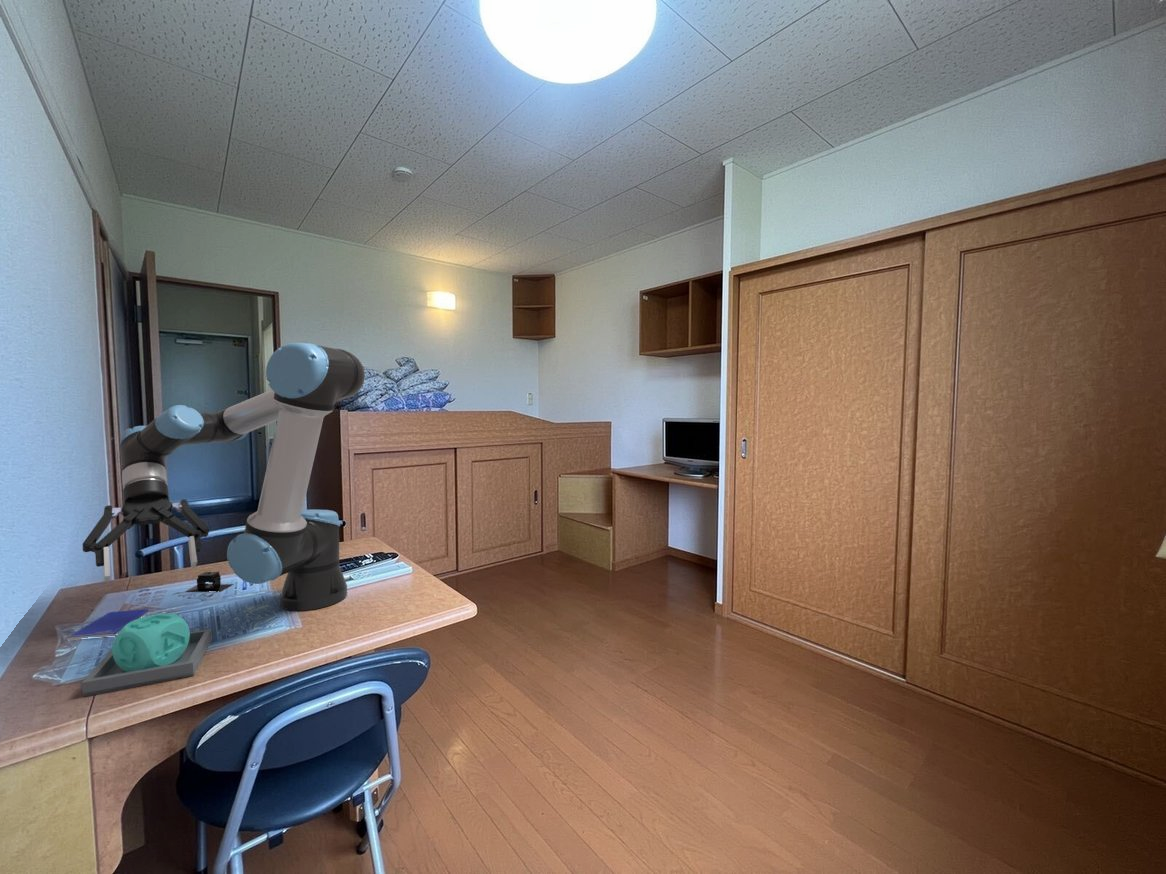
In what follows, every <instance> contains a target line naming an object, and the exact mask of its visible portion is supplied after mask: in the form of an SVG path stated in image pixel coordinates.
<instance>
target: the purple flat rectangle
mask: <svg viewBox="0 0 1166 874" xmlns="http://www.w3.org/2000/svg"><path fill="white" fill-rule="evenodd" d="M149 612H150V613H151V610H150V609H146V608H145V609H134V610H133V609H132V610H121V611H120V610H119V611H109V612H107V613H106V614H104V615H103V616H101V617H98V618H97V619H96V620H93V622H91V623H89V624H87V625H85V626H83V628H80V629H78V630H77V631H75V632H74V633H72V634H71V635H68V636H67V637H66V641H67V640H75V639H81V638H88V637H106V636H115V635H116V634H118V633H119V632H120V630H121V629H122V628H123V627H124V626H125V625H126V624H128V623H130V622H131V621H134V620H136V619H139V618H141V617H143V616H145V615H146V614H147V615H149V614H150V613H149ZM148 613H149V614H148ZM147 615H146V616H147ZM115 637H116V636H115Z"/></svg>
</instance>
